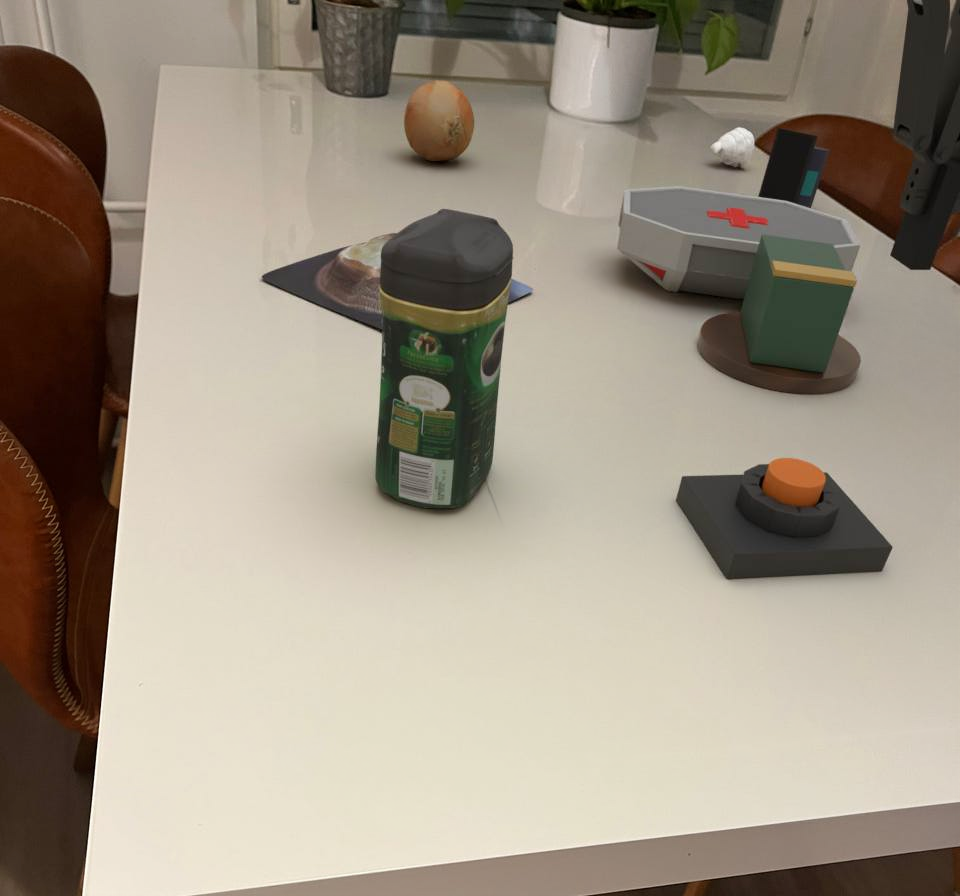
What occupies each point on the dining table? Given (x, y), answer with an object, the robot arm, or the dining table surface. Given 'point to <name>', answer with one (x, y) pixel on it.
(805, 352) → the box
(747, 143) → the garlic bulb
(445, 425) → the coffee jar
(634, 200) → the first aid kit
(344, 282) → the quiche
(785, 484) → the button
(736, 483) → the button block
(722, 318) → the turntable base
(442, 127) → the onion
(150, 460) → the dining table surface
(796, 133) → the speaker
